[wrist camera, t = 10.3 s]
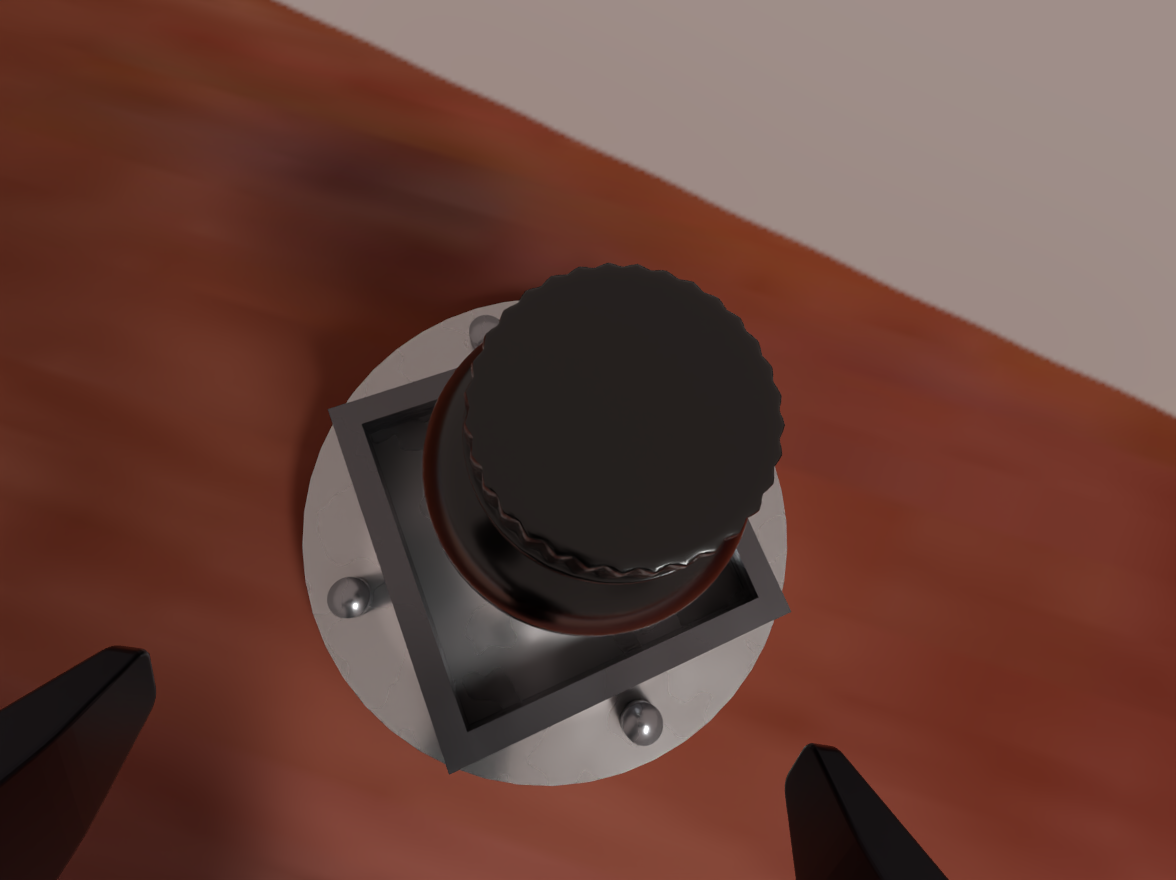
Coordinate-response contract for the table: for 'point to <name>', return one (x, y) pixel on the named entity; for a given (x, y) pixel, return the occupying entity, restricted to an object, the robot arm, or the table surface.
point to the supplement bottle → (602, 451)
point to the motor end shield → (490, 637)
